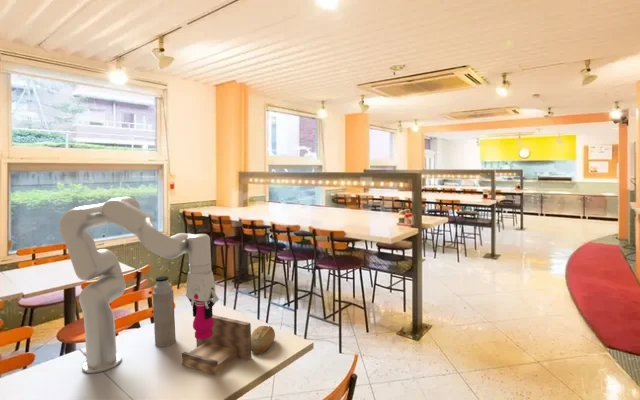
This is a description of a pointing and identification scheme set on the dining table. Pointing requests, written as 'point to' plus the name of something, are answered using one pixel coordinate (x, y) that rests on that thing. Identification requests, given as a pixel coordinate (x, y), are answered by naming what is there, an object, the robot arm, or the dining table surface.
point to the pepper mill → (202, 321)
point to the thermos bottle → (163, 312)
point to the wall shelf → (220, 346)
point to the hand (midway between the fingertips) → (202, 316)
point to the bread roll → (262, 339)
